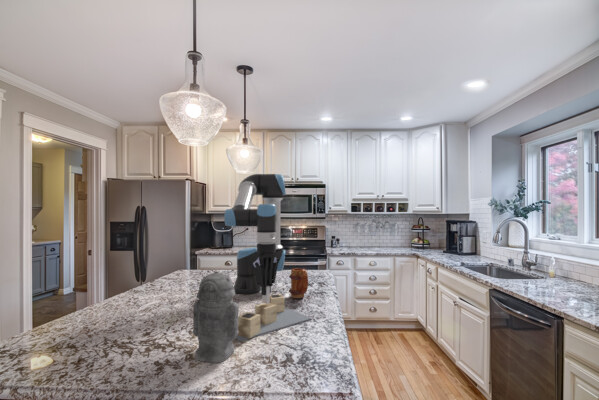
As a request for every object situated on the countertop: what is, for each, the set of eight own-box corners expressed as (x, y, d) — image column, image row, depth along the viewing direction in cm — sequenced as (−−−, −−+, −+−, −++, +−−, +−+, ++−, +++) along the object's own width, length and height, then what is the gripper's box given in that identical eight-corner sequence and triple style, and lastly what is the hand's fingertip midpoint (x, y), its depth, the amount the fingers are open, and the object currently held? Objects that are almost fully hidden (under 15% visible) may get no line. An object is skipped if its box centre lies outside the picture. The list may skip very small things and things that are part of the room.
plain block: (255, 321, 113) (255, 305, 114) (266, 317, 118) (266, 302, 118) (265, 325, 109) (265, 309, 110) (276, 320, 114) (276, 305, 114)
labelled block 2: (266, 309, 128) (266, 294, 128) (279, 307, 130) (279, 293, 130) (271, 313, 122) (271, 298, 122) (284, 311, 124) (284, 296, 125)
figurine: (202, 344, 94) (203, 267, 95) (242, 349, 91) (243, 269, 92) (184, 359, 85) (185, 273, 86) (228, 365, 82) (229, 276, 83)
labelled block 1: (236, 334, 101) (236, 316, 101) (246, 328, 106) (246, 311, 106) (250, 338, 98) (250, 319, 98) (260, 331, 103) (260, 313, 104)
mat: (215, 323, 112) (215, 322, 112) (282, 307, 132) (282, 305, 132) (239, 341, 96) (239, 339, 96) (311, 319, 117) (311, 318, 117)
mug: (286, 296, 150) (286, 266, 150) (300, 294, 153) (300, 265, 154) (298, 304, 136) (298, 272, 137) (313, 301, 140) (313, 270, 140)
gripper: (260, 245, 108) (259, 309, 107) (284, 242, 117) (284, 300, 117) (247, 243, 112) (246, 304, 112) (271, 240, 122) (271, 297, 122)
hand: (266, 302), depth 114 cm, fingers closed
